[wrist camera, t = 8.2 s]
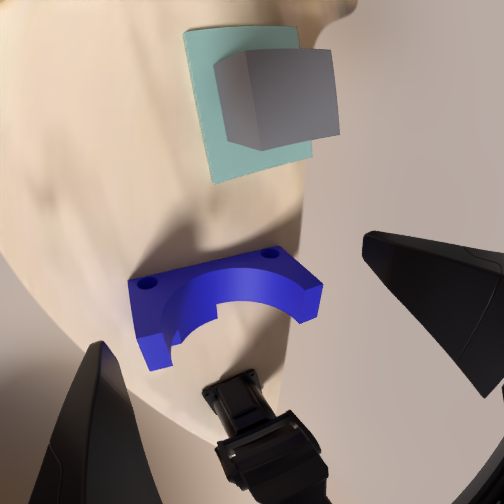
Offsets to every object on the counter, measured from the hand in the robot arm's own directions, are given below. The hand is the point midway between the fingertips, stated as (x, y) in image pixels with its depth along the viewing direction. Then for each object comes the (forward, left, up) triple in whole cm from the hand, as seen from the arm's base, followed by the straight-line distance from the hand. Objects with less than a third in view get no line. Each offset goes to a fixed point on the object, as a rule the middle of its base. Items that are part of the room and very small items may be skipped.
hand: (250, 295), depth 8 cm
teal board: (+5, -6, -11) cm, 14 cm away
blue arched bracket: (-8, 0, -11) cm, 14 cm away
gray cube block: (+5, -6, -11) cm, 13 cm away
